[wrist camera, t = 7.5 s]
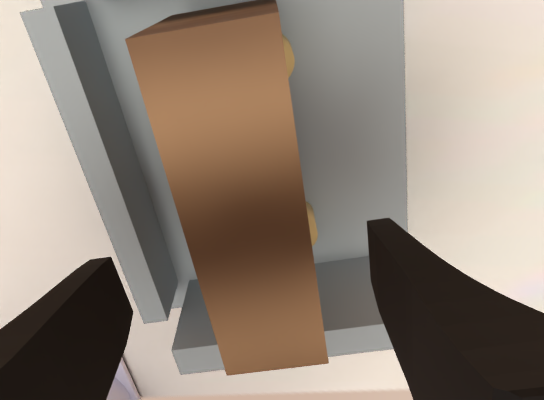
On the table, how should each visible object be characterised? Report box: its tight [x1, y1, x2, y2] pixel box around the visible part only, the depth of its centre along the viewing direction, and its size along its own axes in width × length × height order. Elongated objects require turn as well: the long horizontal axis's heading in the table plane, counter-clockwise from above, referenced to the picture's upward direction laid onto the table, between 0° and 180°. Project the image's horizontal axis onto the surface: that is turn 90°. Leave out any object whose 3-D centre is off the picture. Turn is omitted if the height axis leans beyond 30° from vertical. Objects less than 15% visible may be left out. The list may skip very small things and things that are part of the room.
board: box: [125, 0, 329, 375], centre depth 16 cm, size 12×4×6 cm, turn 9°
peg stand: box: [20, 0, 408, 375], centre depth 19 cm, size 18×14×6 cm
